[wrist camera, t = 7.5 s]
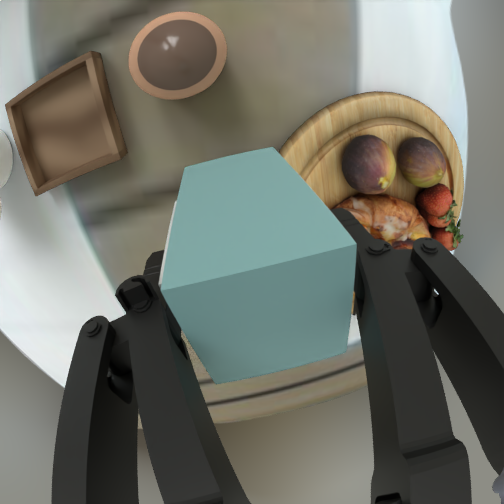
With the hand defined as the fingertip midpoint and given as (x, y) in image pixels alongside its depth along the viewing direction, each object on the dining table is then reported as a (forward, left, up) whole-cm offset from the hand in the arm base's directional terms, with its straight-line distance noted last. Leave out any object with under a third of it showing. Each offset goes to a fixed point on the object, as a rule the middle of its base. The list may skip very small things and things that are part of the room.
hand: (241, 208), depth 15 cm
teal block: (0, 0, -2) cm, 2 cm away
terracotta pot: (-10, -2, -14) cm, 17 cm away
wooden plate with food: (+12, +17, -15) cm, 25 cm away
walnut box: (-8, -15, -14) cm, 22 cm away
